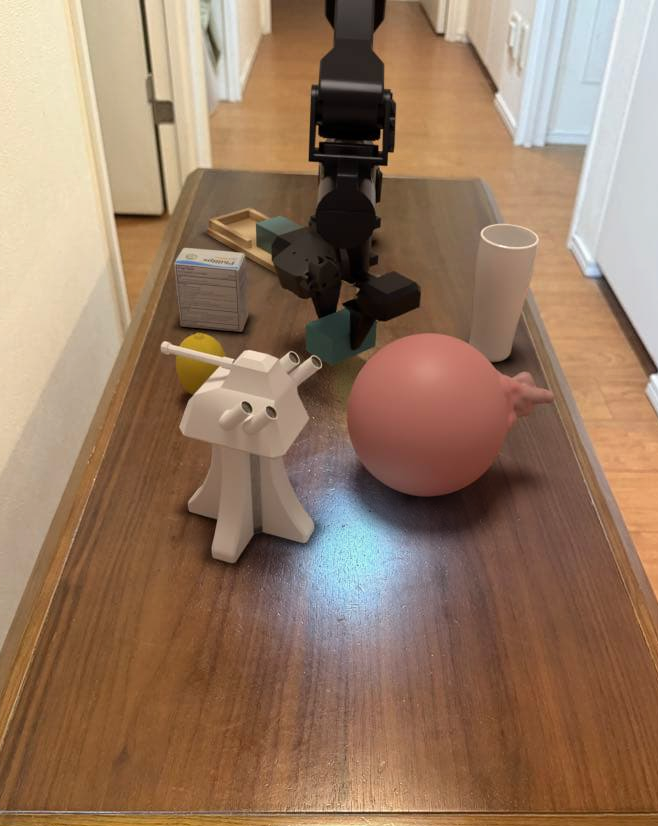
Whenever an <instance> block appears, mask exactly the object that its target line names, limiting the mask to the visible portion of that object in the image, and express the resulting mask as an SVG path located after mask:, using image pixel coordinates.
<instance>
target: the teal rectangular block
mask: <svg viewBox="0 0 658 826" xmlns="http://www.w3.org/2000/svg"><path fill="white" fill-rule="evenodd" d="M377 324H378V320H376V321H375V323H374V324H373V326H372V328H371V329H370V331H369V333H368V335H367V336H366V338H365V340H364V341H363V343H362V345H361V346H360V348H359V349H357V350H354V351H353V350H351V345H350V312H349V311H348V310H347V309H346V308H345V307H344V308H342V309H339V310H338V311H336V312H335V313H332V314H330V315H327V316H325V317H322V318H320V319H318V318H317V319H315V320H313V321H310V322H308V323H306V324H305V351H307V352H308V353H309V354H311V355H312V356H313V355H314V356H317V357H318V358H319V359H320V360H321V361H322V362H325V363H326V364H327V365H329V366H330V367H333V366H335V365H338V364H339V363H342V362H344V361H346V360H349V359H351V358H354V357H356V356H357V355H360V354H362V353H364V352H367V351H369V350H371V349H374V348H375V347H376V340H377V339H376V337H377V327H378V326H377Z"/></svg>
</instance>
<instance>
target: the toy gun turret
mask: <svg viewBox="0 0 658 826" xmlns="http://www.w3.org/2000/svg"><path fill="white" fill-rule="evenodd" d="M160 352H161V354H163V355H170V354H171V355H175V356H176V355H178V356H182V357H186V358H190V359H194V360H198V361H202V362H206V363H210V364H214V365H218V366H220V367H219V368H218V369H217V370H216V371H215V372H214V373H213V374H212V375H211V376H210V377H209V379H208V380H207V381H206V382H205V383H204V384H203V385H202V386H201V387H200V389H199V390H198V391H197V392H196V393H195V394H194V395H192V396H191V397H190V398H189V399H188V401H187V404H186V406H185V409H184V412H183V415H182V417H181V421H180V423H179V426H178V428H179V430H180V432H181V433H182V435H183V436H185V437H187V438H189V439H193V440H197V441H200V442H204V443H207V444H208V443H209V444H211V447H212V448H211V461H210V466H209V468H208V471H207V475H206V477H205V479H204V481H203V483H202V484H201V486H199V487H198V488H197V490H196V491H195V492H194V494H193V495H192V496H191V497H190V499H188V501H187V508H188V509H187V510H188V511H189V513H192V514H196V515H200V516H203V517H207V518H211V519H214V520H216V525H215V529H214V530H215V531H214V536H213V540H212V544H211V556H212V558H213V559H215V560H219V561H223V562H226V563H228V564H234V563H235V564H236V562H237V561H238V559H239V558H240V556H241V555H242V553H243V552H244V550H245V549H246V547H247V545H248V544H249V542H251V540H252V538H253V536H254V535H257V534H260V533H264V534H269V535H272V536H275V537H279V538H283V539H286V540H290V541H293V542H297V543H301V544H306V543H308V542H309V540H310V538H311V536H312V535H313V533H314V531H315V523H314V519H312V518H311V516H310V515H309V514H308V512H307V511H306V509H305V508H304V506H303V505H302V503H301V501H300V500H299V498H298V496H297V494H296V492H295V490H294V488H293V486H292V483H291V481H290V478H289V476H288V473H287V471H286V468H285V463H284V462H285V461H284V457H283V456H284V455H286V454H287V452H288V450H289V449H290V448H291V446H292V444H293V443H294V442H295V441H296V439H297V438H298V437H299V434H300V433H301V432H302V430H303V429H304V428H305V426H306V425H307V423H308V422H309V420H310V417H309V414H308V412H307V410H306V408H305V406H304V403H303V401H302V400H301V398H300V395H299V392H298V387H299V386H300V385H301V384H302V383H303V382H305V381H306V380H307V379H308V378H310V377H311V376H312V375H313V374H315V373H316V372H318V371H319V370H320V369H322V367H323V364H322V360H321V359H319V358H318V357H317V356H315V355H313V354H312V355H311V356H310V357H309V358H307V359H306V360H305V361H303V362H302V363H301V364H300V357H299V355H298V354H297V353H296V352H295V351H292V350H291V351H289V352H287V353H286V354H284V356H282V357H281V358H280V359H279V358H277V357H276V356H273V355H271V354H268V353H264V352H260V351H255V350H252V349H247V350H244V351H242V352H241V354H240V355H237V356H236V357H235V358H232V357H227V356H226V357H223V358H222V357H218V356H214V355H210V354H206V353H202V352H198V351H194V350H190V349H186V348H182V347H179V345H174V344H172V343H171V342H169V341H167V340H166V341H165V340H164V341H163V342H162V343H161V344H160ZM299 364H300V365H299ZM296 366H297V367H296ZM295 367H296V368H295ZM294 368H295V369H294ZM291 370H292V371H291ZM290 371H291V372H290ZM289 372H290V373H289ZM288 373H289V374H288Z"/></svg>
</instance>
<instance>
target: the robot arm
mask: <svg viewBox="0 0 658 826" xmlns="http://www.w3.org/2000/svg"><path fill="white" fill-rule="evenodd" d="M386 7H387V0H324V17H325V19H326V20H327V22H328V23H329V25H330V27H331V29H332V30H333V40H332V48H331V49H330V50H329V51H327V52H326V54H324V55H323V56H322V57H321V58H320V61H319V67H318V68H319V69H318V84H311V85H310V86H311V87H310V104H309V105H310V109H309V112H310V113H309V134H308V135H309V137H308V162H309V163H318V172H317V173H318V175H317V179H318V180H317V182H318V185H317V197H316V203H315V212H314V213H315V214H312V215H310V220H308V224H307V225H306V226H302V227H303V228H300V229H297V230H294V231H291V232H288V233H285V234H281V235H278V236H277V237H276V239H275V240H274V242H273V244H272V245H271V256H272V262H273V265H274V267H275V270H276V273H277V274H276V273H275V274H276V276H277V278H278V282H279V284H280V287H281V288H282V289H283V290H287V291H289V292H291V293H292V294H294V295H296V297H297V298H299V299H301V300H309V299H311V301H312V304H313V307H314V310H315V313H316V316H317V319H320V318H322V317H325V316H327V315H330V314H332V313H335V312H337V310H338V305H339V300H340V294H341V289H342V284H344V285H347V286H349V287H352V288H356V292H355V294H354V298H352V299H348V300H346V301H345V302H342V303H341V306H342V307H344V309H345V308H346V309H347V310H348V311H349V312H350V345H351V350H353V351H354V350H357V349H359V348H360V346H361V345H362V343H363V341H364V340H365V338H366V336H367V335H368V333H369V331H370V329H371V328H372V326H373V324H374V323H375V321H377V322H385V323H387V322H389V321H392V320H394V319H395V318H398V317H400V316H403V315H405V314H407V313H410V312H412V311H414V310H417V309H419V308H420V305H421V297H422V287H421V286H420V285H419V284H418V283H417V282H416V281H415V280H413V279H411V278H408V277H407V276H404V275H403V274H401V273H399V272H397V271H395V270H392V271H389V272H387V273H385V274H381V275H380V274H377V275H376V274H373V273H371V272H369V271H370V268H372V267H374V266H377V265H379V255H378V254H377V253H375V252H373V251H372V244H373V243H375V241H376V238H375V237H373V233H374V231H375V230H377V229H380V228H381V227H382V226H381V225H382V218H381V217H380V216H377V204H378V203H381V200H382V199H381V198H382V197H381V196H382V187H383V177H384V176H383V175H384V174H383V172H382V170H381V169H380V167H388V165H389V153H391V154H392V153H395V148H396V147H395V146H396V145H395V144H396V121H397V119H396V118H397V102H396V101H395V100H394V97H393V96H394V92H392V89H391V88H385V63H384V61H383V60H382V59H381V58H380V57H379V56H378V54H377V53H376V52H375V50H374V35H375V33H376V32H377V31H378V29H379V27H380V26H381V25H382V24H383V22H384V21H385V18H386ZM317 135H318V137H319V138H322V139H325V141H318V146H317V147H316V139H317ZM381 135H382V144H381V150H379V147H380V145H379V144H375V143H374V142H376V141H379V140H380V139H381Z"/></svg>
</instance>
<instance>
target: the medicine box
mask: <svg viewBox="0 0 658 826" xmlns="http://www.w3.org/2000/svg"><path fill="white" fill-rule="evenodd" d="M246 258H247V257H246V256H245V254H244V253H239V252H237V251H227V250H216V249H206V248H205V249H204V248H194V247H193V248H192V247H183V248H182V249H181V251H180V252H179V254H178V255H177V258H176V259H175V261H174V263H173V268H174V276H175V285H176V294H177V303H178V313H179V320H180V321H179V322H180V323H179V324H180V327H184V328H185V327H186V328H197V329H207V330H218V331H229V332H240V333H242V332H243V331H244V328H245V325H246V322H247V321H248V318H249V315H250V314H249V299H248V298H249V297H248V283H247V282H248V279H247V264H246V263H247V261H246Z"/></svg>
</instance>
